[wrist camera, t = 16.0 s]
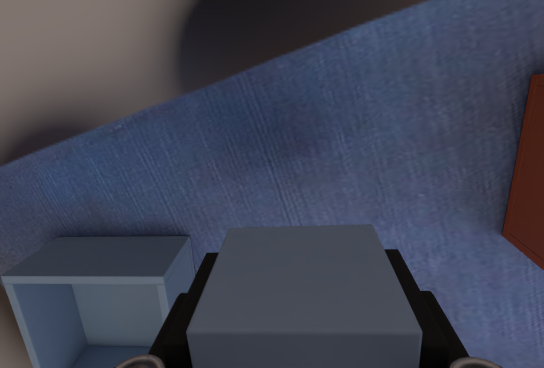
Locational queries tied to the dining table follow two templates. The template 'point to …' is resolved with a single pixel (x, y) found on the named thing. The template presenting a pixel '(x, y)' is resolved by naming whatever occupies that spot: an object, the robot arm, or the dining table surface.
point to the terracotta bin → (529, 181)
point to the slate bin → (97, 297)
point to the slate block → (303, 302)
